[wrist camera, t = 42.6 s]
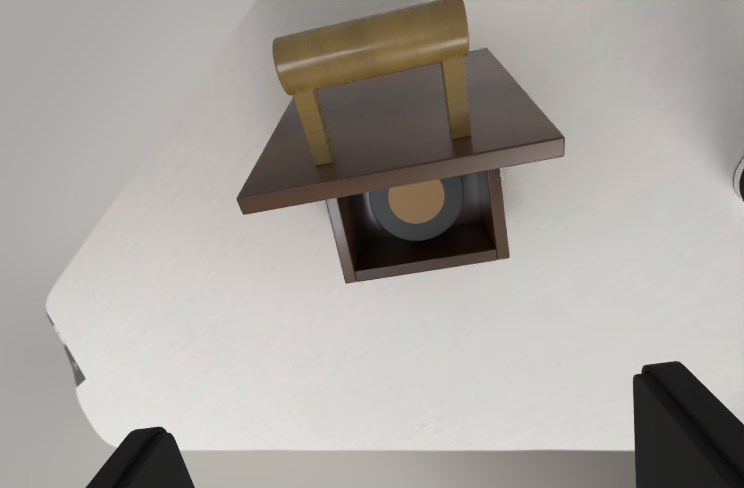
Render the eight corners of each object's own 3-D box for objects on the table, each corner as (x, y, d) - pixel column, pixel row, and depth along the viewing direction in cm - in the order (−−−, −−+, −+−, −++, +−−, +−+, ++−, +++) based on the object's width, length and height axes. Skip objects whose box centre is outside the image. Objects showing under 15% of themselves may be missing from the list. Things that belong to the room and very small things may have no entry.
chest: (491, 226, 37) (509, 258, 30) (357, 248, 38) (345, 284, 31) (470, 61, 33) (486, 54, 26) (322, 93, 34) (300, 94, 28)
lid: (565, 156, 15) (568, -22, 12) (242, 215, 16) (179, 70, 13) (488, 60, 26) (480, -44, 23) (300, 100, 27) (272, 7, 25)
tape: (361, 202, 36) (354, 218, 32) (395, 126, 34) (392, 132, 30) (434, 235, 36) (438, 255, 32) (472, 162, 34) (481, 173, 30)
